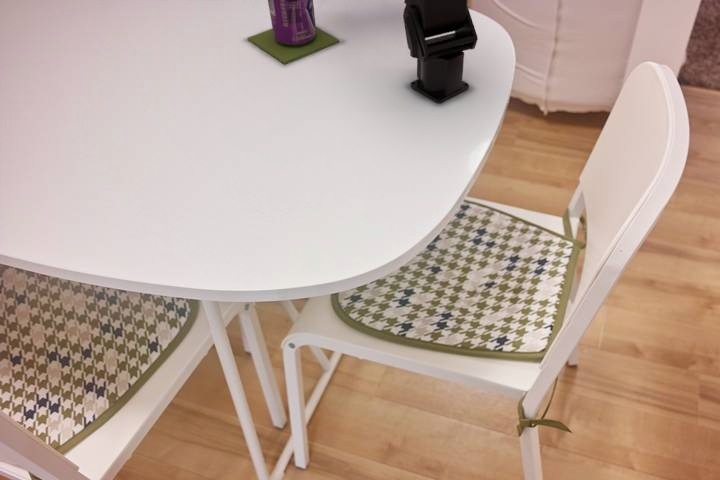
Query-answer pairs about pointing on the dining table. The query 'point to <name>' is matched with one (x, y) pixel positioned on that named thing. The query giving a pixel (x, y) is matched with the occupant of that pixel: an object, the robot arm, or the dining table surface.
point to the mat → (291, 51)
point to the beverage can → (292, 21)
